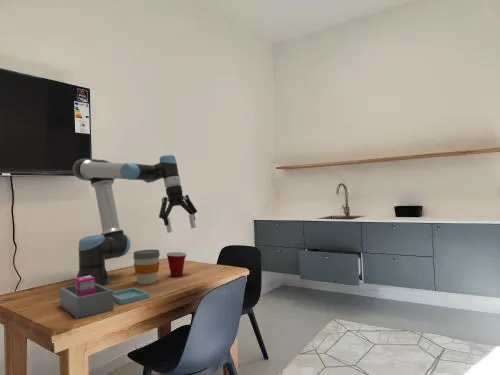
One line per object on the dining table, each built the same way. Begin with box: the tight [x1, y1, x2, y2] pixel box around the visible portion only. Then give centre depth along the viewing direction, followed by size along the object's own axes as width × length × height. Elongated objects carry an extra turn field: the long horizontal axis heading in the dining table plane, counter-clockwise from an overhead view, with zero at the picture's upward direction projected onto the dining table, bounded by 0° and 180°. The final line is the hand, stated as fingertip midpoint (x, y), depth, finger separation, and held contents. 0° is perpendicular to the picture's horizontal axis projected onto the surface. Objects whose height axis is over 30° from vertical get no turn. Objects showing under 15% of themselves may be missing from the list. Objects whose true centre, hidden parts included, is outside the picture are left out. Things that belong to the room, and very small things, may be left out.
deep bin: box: [59, 283, 114, 319], centre depth 129 cm, size 21×12×7 cm, turn 43°
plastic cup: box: [165, 251, 187, 278], centre depth 179 cm, size 11×11×12 cm
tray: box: [113, 287, 150, 306], centre depth 140 cm, size 14×12×2 cm
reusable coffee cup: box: [133, 249, 161, 285], centre depth 168 cm, size 12×13×15 cm
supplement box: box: [74, 276, 95, 297], centre depth 129 cm, size 6×6×12 cm
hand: (182, 230), depth 159 cm, fingers open, 13 cm apart
